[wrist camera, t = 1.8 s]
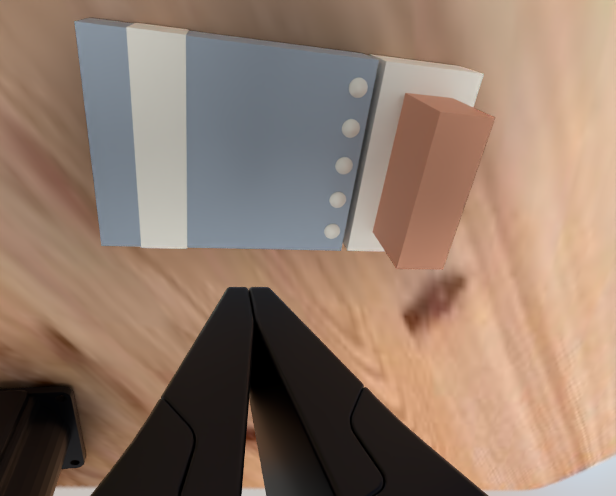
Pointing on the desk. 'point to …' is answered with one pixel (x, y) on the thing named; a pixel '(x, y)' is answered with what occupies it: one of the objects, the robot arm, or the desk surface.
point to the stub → (416, 161)
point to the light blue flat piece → (220, 137)
